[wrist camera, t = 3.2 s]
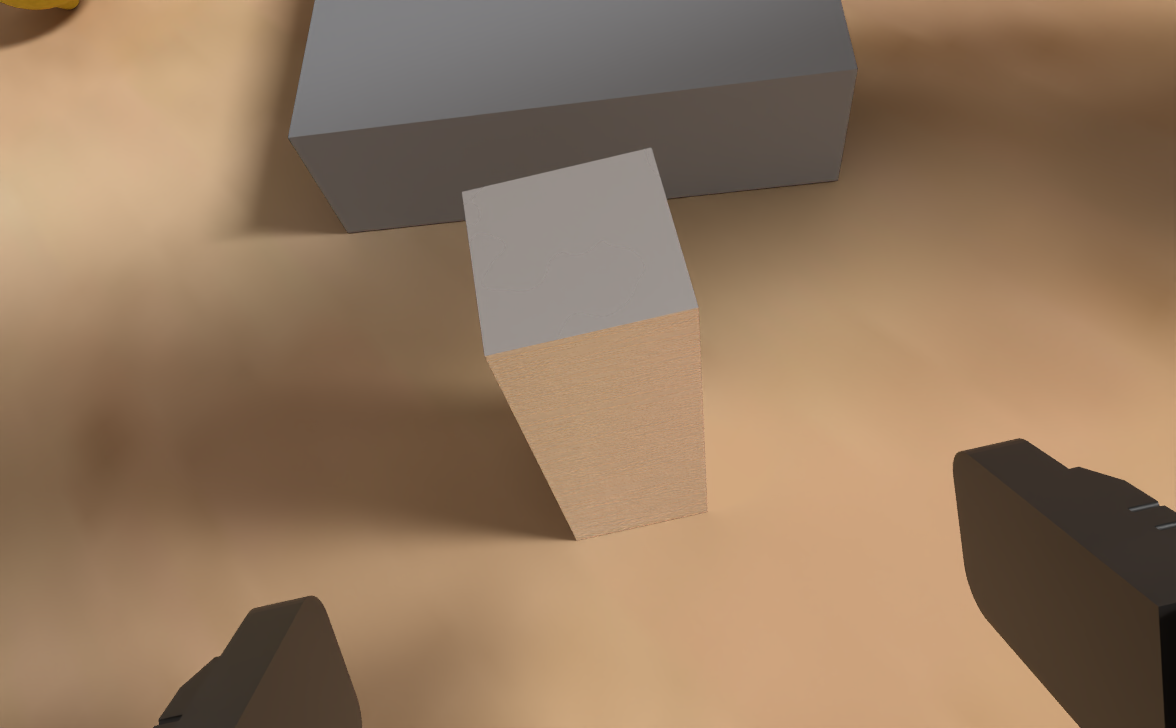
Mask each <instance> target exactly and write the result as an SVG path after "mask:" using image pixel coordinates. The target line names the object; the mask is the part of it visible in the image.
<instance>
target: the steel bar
mask: <svg viewBox="0 0 1176 728" xmlns="http://www.w3.org/2000/svg"><path fill="white" fill-rule="evenodd" d="M462 197H463V204H464V211H465V218H466V225H467V233H468V240H469V247H470V254H471V261H472V269H473V276H474V283H475V290H476V298H477V305H478V312H479V319H480V326H481V334H482V341H483V348H484V355H485V358H486V360H487V362H488V364H489V366H490V368H491V370H492V372H493V374H494V376H495V378H496V380H497V382H498V384H499V386H500V388H501V390H502V392H503V394H504V396H505V398H506V400H507V402H508V404H509V406H510V408H511V410H512V412H513V414H514V416H515V418H516V420H517V422H518V424H519V426H520V428H521V430H522V432H523V434H524V436H525V438H526V440H527V442H528V444H529V446H530V448H531V450H532V452H533V454H534V456H535V458H536V460H537V462H538V464H539V466H540V468H541V470H542V472H543V474H544V476H545V478H546V480H547V482H548V484H549V486H550V488H551V490H552V492H553V494H554V496H555V498H556V500H557V502H558V504H559V506H560V508H561V510H562V512H563V514H564V516H565V518H566V520H567V522H568V524H569V526H570V528H571V530H572V532H573V534H574V536H575V538H576V540H582V539H586V538H591V537H595V536H600V535H604V534H609V533H613V532H618V531H622V530H627V529H632V528H636V527H641V526H645V525H650V524H654V523H659V522H663V521H668V520H672V519H677V518H682V517H686V516H691V515H695V514H700V513H704V512H708V511H707V488H706V465H705V443H704V420H703V397H702V374H701V351H700V329H699V307H698V304H697V300H696V297H695V294H694V290H693V287H692V284H691V280H690V277H689V273H688V270H687V267H686V263H685V260H684V256H683V253H682V250H681V246H680V243H679V239H678V236H677V233H676V229H675V226H674V222H673V219H672V216H671V212H670V209H669V205H668V202H667V199H666V195H665V192H664V188H663V185H662V182H661V178H660V175H659V171H658V168H657V165H656V161H655V158H654V154H653V151H652V148H647V149H643V150H639V151H634V152H630V153H626V154H621V155H617V156H613V157H609V158H604V159H600V160H596V161H592V162H587V163H583V164H579V165H575V166H570V167H566V168H562V169H558V170H553V171H549V172H545V173H540V174H536V175H532V176H528V177H523V178H519V179H515V180H511V181H506V182H502V183H498V184H494V185H489V186H485V187H481V188H477V189H472V190H468V191H464V192H462Z"/></svg>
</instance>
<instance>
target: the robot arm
mask: <svg viewBox="0 0 1176 728" xmlns="http://www.w3.org/2000/svg"><path fill="white" fill-rule="evenodd" d="M953 477H954V485H955V493H956V501H957V509H958V518H959V526H960V534H961V542H962V550H963V558H964V566H965V572H966V576H967V580H968V583H969V586H970V589H971V592H972V594H973V597H974V599H975V601H976V603H977V605H978V607H979V609H980V611H981V612H982V614H983V615H984V617H985V618H986V619H987V621H988V622H989V623H990V624H991V625H992V626H993V627H994V629H995V630H996V631H997V632H998V633H999V634H1000V636H1001V637H1002V638H1003V639H1004V640H1005V641H1006V642H1007V644H1008V645H1009V646H1010V647H1011V648H1012V649H1013V650H1014V652H1015V653H1016V654H1017V655H1018V656H1019V657H1020V659H1021V660H1022V661H1023V662H1024V663H1025V664H1026V665H1027V667H1028V668H1029V669H1030V670H1031V671H1032V672H1033V674H1034V675H1035V676H1036V677H1037V678H1038V679H1039V680H1040V682H1041V683H1042V684H1043V685H1044V686H1045V687H1046V689H1047V690H1048V691H1049V692H1050V693H1051V694H1052V695H1053V697H1054V698H1055V699H1056V700H1057V701H1058V702H1059V704H1060V705H1061V706H1062V707H1063V708H1064V709H1065V710H1066V712H1067V713H1068V714H1069V715H1070V716H1071V717H1072V718H1073V720H1074V721H1075V722H1076V723H1077V724H1078V725H1079V727H1080V728H1176V512H1174V511H1173V510H1171V509H1169V508H1168V507H1166V506H1159V504H1158V501H1157V500H1155V499H1153V498H1152V497H1150V496H1149V495H1147V494H1145V493H1144V492H1142V491H1141V490H1139V489H1137V488H1136V487H1134V486H1133V485H1131V484H1129V483H1128V482H1126V481H1125V480H1121V479H1118V478H1115V477H1111V476H1108V475H1104V474H1101V473H1098V472H1094V471H1091V470H1088V469H1084V468H1081V467H1076V468H1071V469H1068V468H1067V467H1065V466H1064V465H1062V464H1061V463H1059V462H1058V461H1056V460H1055V459H1053V458H1052V457H1050V456H1049V455H1047V454H1046V453H1044V452H1043V451H1041V450H1040V449H1038V448H1037V447H1035V446H1034V445H1032V444H1031V443H1029V442H1028V441H1026V440H1024V439H1020V438H1019V439H1014V440H1010V441H1005V442H1001V443H996V444H992V445H987V446H983V447H978V448H974V449H969V450H965V451H960V452H958V453H957V454H956V455H955V458H954V462H953ZM153 728H362V720H361V712H360V707H359V703H358V699H357V696H356V693H355V690H354V688H353V685H352V682H351V679H350V676H349V674H348V671H347V668H346V665H345V662H344V659H343V657H342V654H341V651H340V648H339V645H338V643H337V640H336V637H335V634H334V631H333V629H332V626H331V623H330V620H329V617H328V615H327V612H326V610H325V608H324V606H323V604H322V603H321V601H320V600H319V599H318V598H317V597H315V596H307V597H303V598H298V599H294V600H289V601H285V602H280V603H276V604H271V605H267V606H262V607H258V608H254V609H252V610H251V611H250V612H249V613H248V614H247V616H246V617H245V619H244V621H243V622H242V624H241V625H240V627H239V628H238V630H237V631H236V633H235V634H234V636H233V638H232V639H231V641H230V642H229V644H228V645H227V647H226V648H225V650H224V652H223V653H222V655H221V656H219V657H215V658H214V659H213V660H211V661H210V662H209V663H208V664H207V665H206V666H205V667H203V668H202V669H201V670H200V671H199V672H198V673H197V674H195V675H194V676H193V677H192V678H191V679H190V680H189V681H188V682H186V683H185V684H184V685H183V686H182V687H181V688H180V689H179V690H178V692H177V693H176V695H175V696H174V698H173V699H172V701H171V702H170V704H169V705H168V707H167V708H166V709H165V711H164V712H163V714H162V715H161V717H160V718H159V725H157V726H154V727H153Z"/></svg>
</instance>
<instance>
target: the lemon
mask: <svg viewBox="0 0 1176 728" xmlns="http://www.w3.org/2000/svg"><path fill="white" fill-rule="evenodd" d="M0 2H2V3H4V4H6V5H9V6H13V7H16V8H23V9H31V10H41V9H50V8H54V7H58V8H63V9H73V8H75V7H76V6H77V5H78V4H79V0H0Z"/></svg>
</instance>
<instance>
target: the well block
mask: <svg viewBox="0 0 1176 728" xmlns="http://www.w3.org/2000/svg"><path fill="white" fill-rule="evenodd" d="M857 70H858V68H857V64H856V60H855V56H854V52H853V48H852V44H851V40H850V36H849V32H848V28H847V24H846V20H845V16H844V12H843V7H842V3H841V0H315V3H314V8H313V13H312V18H311V23H310V28H309V33H308V38H307V43H306V48H305V54H304V59H303V64H302V69H301V74H300V79H299V84H298V89H297V94H296V99H295V104H294V110H293V115H292V120H291V125H290V130H289V135H288V139H289V140H290V142H291V144H292V145H293V147H294V148H295V150H296V151H297V153H298V155H299V156H300V158H301V159H302V161H303V163H304V164H305V166H306V167H307V169H308V171H309V172H310V174H311V175H312V177H313V179H314V180H315V182H316V183H317V185H318V186H319V188H320V190H321V191H322V193H323V194H324V196H325V198H326V199H327V201H328V202H329V204H330V206H331V207H332V209H333V210H334V212H335V213H336V215H337V217H338V218H339V220H340V221H341V223H342V225H343V226H344V228H345V229H346V231H347V233H352V232H361V231H371V230H380V229H389V228H399V227H408V226H417V225H427V224H436V223H445V222H455V221H464V220H466V218H465V211H464V204H463V197H462V192H464V191H468V190H472V189H477V188H481V187H485V186H489V185H494V184H498V183H502V182H506V181H511V180H515V179H519V178H523V177H528V176H532V175H536V174H540V173H545V172H549V171H553V170H558V169H562V168H566V167H570V166H575V165H579V164H583V163H587V162H592V161H596V160H600V159H604V158H609V157H613V156H617V155H621V154H626V153H630V152H634V151H639V150H643V149H647V148H652V151H653V154H654V158H655V161H656V165H657V168H658V171H659V175H660V178H661V182H662V185H663V188H664V192H665V195H666V199H669V198H679V197H688V196H697V195H707V194H716V193H725V192H734V191H744V190H753V189H762V188H772V187H781V186H790V185H800V184H809V183H818V182H828V181H837V180H838V177H839V172H840V166H841V160H842V155H843V149H844V143H845V138H846V132H847V126H848V121H849V115H850V109H851V104H852V98H853V93H854V87H855V81H856V76H857Z"/></svg>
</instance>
